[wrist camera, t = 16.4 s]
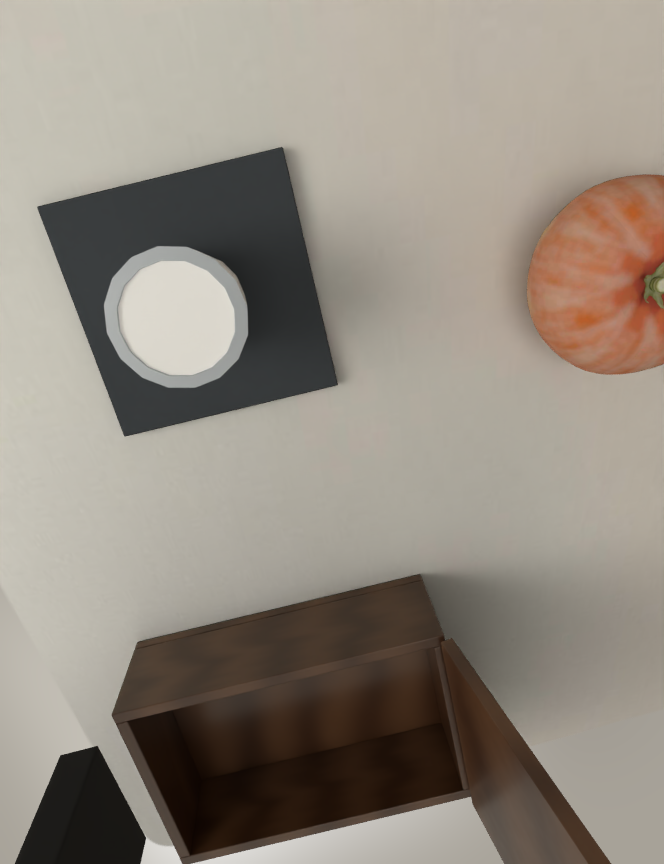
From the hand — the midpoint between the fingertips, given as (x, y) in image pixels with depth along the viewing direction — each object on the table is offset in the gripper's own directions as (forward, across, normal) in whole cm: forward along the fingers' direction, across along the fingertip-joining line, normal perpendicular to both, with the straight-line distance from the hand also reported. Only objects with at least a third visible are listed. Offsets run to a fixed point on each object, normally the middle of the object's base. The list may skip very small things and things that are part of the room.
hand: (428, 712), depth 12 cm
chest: (+27, -8, -23) cm, 36 cm away
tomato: (+27, +18, +2) cm, 32 cm away
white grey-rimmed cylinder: (+26, -6, +7) cm, 28 cm away
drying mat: (+27, -6, +7) cm, 28 cm away
